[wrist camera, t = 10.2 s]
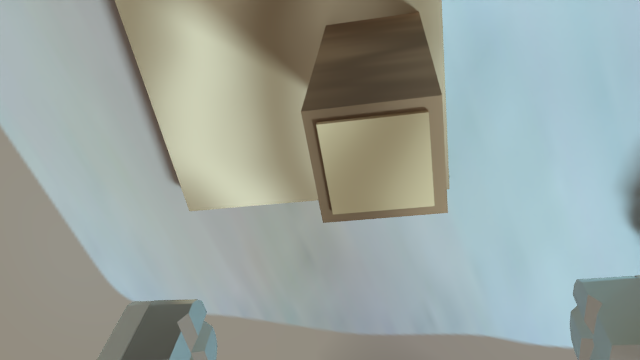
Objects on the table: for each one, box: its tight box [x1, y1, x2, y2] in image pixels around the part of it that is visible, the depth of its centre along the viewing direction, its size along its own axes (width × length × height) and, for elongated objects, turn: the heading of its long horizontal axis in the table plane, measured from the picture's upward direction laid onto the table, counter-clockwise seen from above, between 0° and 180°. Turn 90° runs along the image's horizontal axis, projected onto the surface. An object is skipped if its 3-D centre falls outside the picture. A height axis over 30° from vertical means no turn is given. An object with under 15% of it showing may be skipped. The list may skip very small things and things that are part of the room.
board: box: [115, 0, 449, 211], centre depth 25 cm, size 14×14×2 cm
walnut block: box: [301, 12, 448, 223], centre depth 19 cm, size 4×4×9 cm
